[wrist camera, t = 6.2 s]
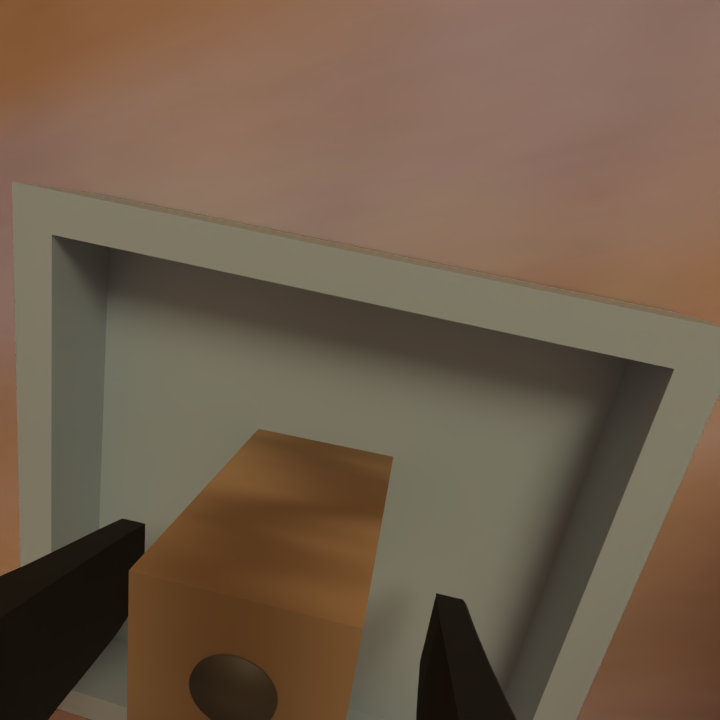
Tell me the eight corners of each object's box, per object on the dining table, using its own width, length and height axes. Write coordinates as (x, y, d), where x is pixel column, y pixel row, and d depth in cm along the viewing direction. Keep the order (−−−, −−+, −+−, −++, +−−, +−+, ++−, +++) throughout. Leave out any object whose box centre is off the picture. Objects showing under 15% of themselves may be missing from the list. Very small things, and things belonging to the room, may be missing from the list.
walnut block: (393, 456, 13) (362, 631, 7) (371, 573, 14) (329, 805, 8) (258, 428, 13) (127, 573, 8) (247, 544, 14) (125, 746, 9)
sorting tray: (678, 312, 11) (746, 332, 9) (502, 759, 16) (516, 856, 13) (92, 192, 13) (11, 181, 10) (81, 632, 17) (23, 697, 15)
